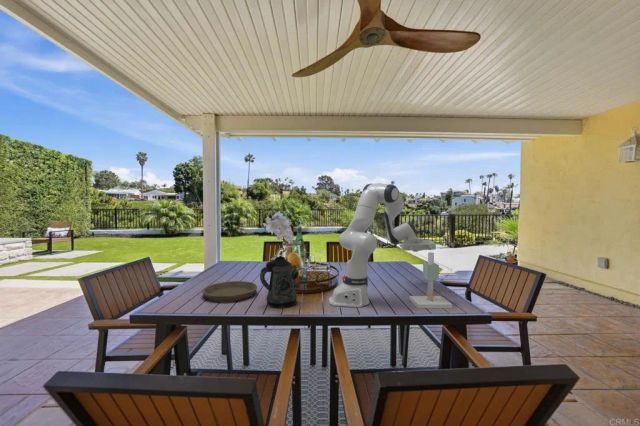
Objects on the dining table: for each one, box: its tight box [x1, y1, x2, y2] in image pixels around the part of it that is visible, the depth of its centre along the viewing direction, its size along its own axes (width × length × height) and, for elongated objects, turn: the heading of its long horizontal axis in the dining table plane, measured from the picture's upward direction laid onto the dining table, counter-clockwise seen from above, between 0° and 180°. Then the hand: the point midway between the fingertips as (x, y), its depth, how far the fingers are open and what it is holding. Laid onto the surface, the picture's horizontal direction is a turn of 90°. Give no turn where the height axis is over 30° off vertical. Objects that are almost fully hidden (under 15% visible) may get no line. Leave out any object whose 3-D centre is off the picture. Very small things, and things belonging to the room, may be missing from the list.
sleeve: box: [422, 262, 440, 281], centre depth 162 cm, size 6×6×8 cm
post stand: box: [409, 251, 453, 309], centre depth 163 cm, size 18×14×28 cm
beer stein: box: [259, 256, 298, 309], centre depth 161 cm, size 16×19×25 cm
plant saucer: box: [201, 280, 258, 303], centre depth 176 cm, size 31×31×5 cm
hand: (422, 249), depth 176 cm, fingers open, 8 cm apart
